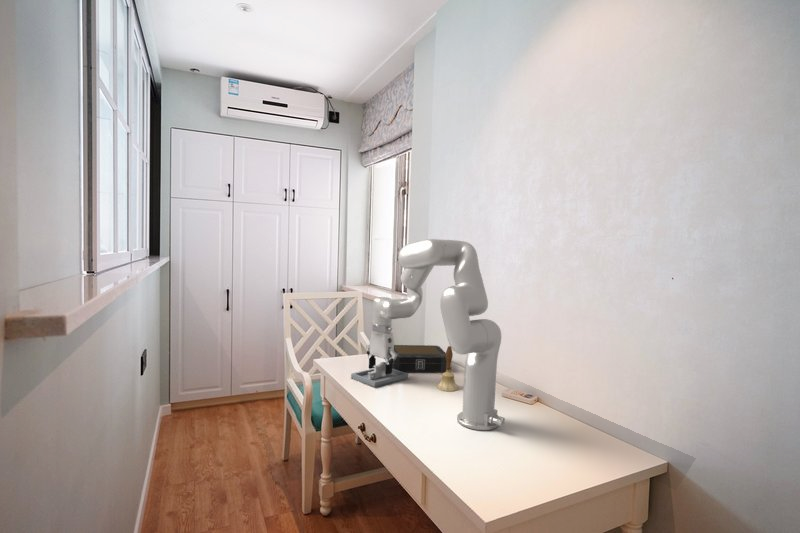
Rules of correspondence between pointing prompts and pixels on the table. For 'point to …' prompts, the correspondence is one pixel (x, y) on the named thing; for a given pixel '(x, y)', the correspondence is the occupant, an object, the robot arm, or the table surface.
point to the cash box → (419, 359)
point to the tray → (380, 381)
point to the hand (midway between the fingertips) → (380, 370)
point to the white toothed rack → (377, 371)
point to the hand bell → (448, 375)
